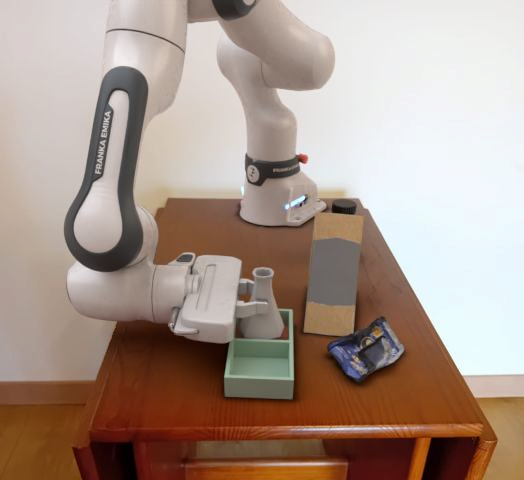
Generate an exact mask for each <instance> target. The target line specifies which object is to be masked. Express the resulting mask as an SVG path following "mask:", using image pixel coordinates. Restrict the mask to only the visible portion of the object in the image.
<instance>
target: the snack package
mask: <svg viewBox="0 0 524 480" xmlns="http://www.w3.org/2000/svg"><path fill="white" fill-rule="evenodd" d="M326 349H327V352H329V354H328V356H329V357H331V355H332V356H333V357H334V358H335V360H336V361H337V362H338V364H339V365H338V366H340V368H341V369H342V372H343V373H344V375H345V376H346V377H348V378H349V379H351V380H352V381H354V382H355V383H356V384H359V385H360V384H362V383H363V382H364V381H365V380H366V379H367V377H368V376H369V375H370V374H372V373H373V372H375V371H377V370H380V369H381V368H384V367H387V366H389V365H391V364H393V363H395V362H396V361H397V360H398V359H399V358H400V357H401V355H402V354H403V353H404V351H405V346H404V344H401V342H400V341H399V338H398V335H396V333H395V332H394V331H393V329H392V328H391V326H390V323H389V321H388V320H387V318H386V317H385V316H382V315H381V316H379V317H377V318H375V319H374V320H373V321H372V322H370V324H369V325H367V326H365V327H364V328H363V329H358V330H356V331H353V334H352V333H351V334H349V335H345V336H339V337H338V338H336V339H334V340H332V341H331V342H329V343H328V344H327V346H326Z"/></svg>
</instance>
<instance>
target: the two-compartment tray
mask: <svg viewBox="0 0 524 480" xmlns="http://www.w3.org/2000/svg"><path fill="white" fill-rule="evenodd" d="M278 310H279V313H280V316H281V319H282V321H283V324H284V329H283V332H282V334H281V337H277V338H272V339H251V338H246V337H244V335H243V334H242V332H241V331H240V329H239V325H240V323H241V320H242V318H236V323H235V330H234V338H233V340H232V341H230V342H228V349H227V356H226V363H225V370H224V375H223V385H224V388H223V389H224V397H225V398H246V399H247V398H250V399H252V398H253V399H273V400H293V398H294V397H293V396H294V387H295V386H294V385H295V366H294V365H295V364H294V363H295V360H294V358H295V357H294V310H293V309H290V308H278Z"/></svg>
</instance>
